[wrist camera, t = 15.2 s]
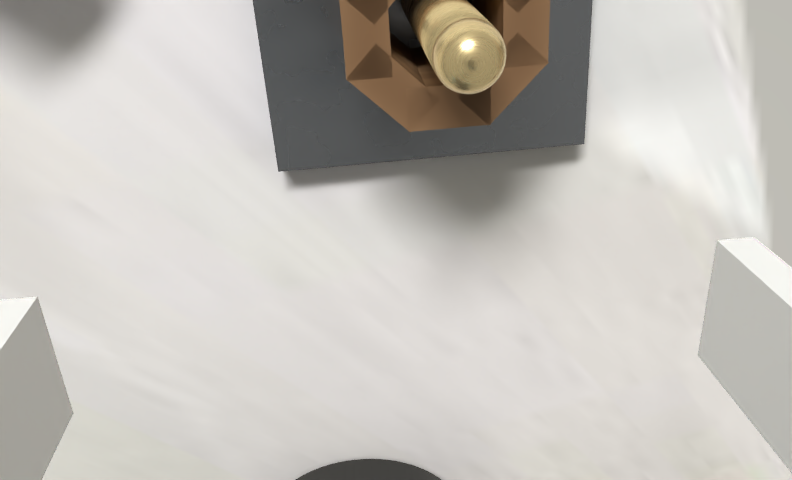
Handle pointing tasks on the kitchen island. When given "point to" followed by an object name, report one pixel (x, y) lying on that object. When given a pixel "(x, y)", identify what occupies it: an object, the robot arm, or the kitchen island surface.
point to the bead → (414, 76)
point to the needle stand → (453, 65)
